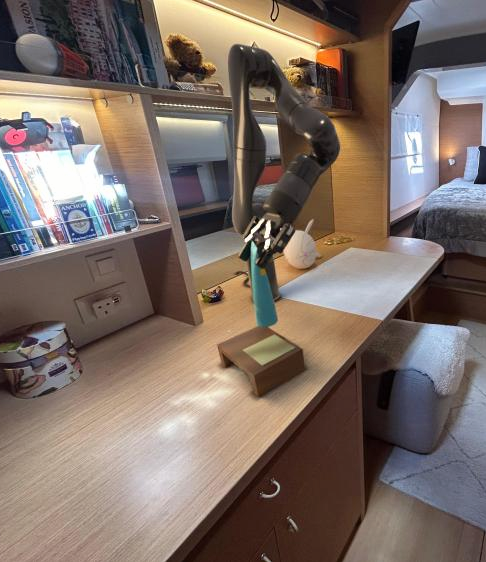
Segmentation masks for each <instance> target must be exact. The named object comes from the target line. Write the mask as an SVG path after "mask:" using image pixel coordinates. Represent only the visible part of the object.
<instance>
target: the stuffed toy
mask: <svg viewBox="0 0 486 562" xmlns="http://www.w3.org/2000/svg"><path fill="white" fill-rule="evenodd" d="M314 221H315V219H314V218H313V219H311V220H310V221H309V222H308V224H307V225H306V227H305V230H300V229H297V230H296V229H295V233H294V235H293V236H292V238H291V240H290V241H289V243H288V244H287V246H286V247H285V249H284V251H283V255H284V257H285V260H286V262H288V264H290V266H292V267H294V268H295V269H299V270H305V269H308V268H310V267H311V266H312V265H313V264H314V263H315V261H316V259H319V258H320V259H321V258H322V257H323V255H322V254H321V253H318V252H317V251H318V250H317V246H316V242H315V240H314V238H313V237H312V236H311V235H310V234H309V232H310V230H311V228H312V226H313V224H314Z"/></svg>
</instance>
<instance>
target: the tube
mask: <svg viewBox="0 0 486 562" xmlns="http://www.w3.org/2000/svg"><path fill="white" fill-rule="evenodd" d="M251 241H252V240H251ZM258 257H259V254H258V253H257V247H256V245H255V244H254V242H253V241H252V243H251V272H252V288H253V298H254V301H253V306H254V314H255V321H256V326H260V327H268V328H270V327H272V326H274V325H276V324H277V323H278V321H279V319H278V314H277V309H276V304H275V301H274V300H273V296H272V291H271V288H270V284H269V280H268V277H267V274H266V271H265V268H264V269H262V268H260V267H258V266H256V265H255V262H256V260H257V258H258ZM253 298H252V299H253Z"/></svg>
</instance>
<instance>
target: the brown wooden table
mask: <svg viewBox="0 0 486 562" xmlns="http://www.w3.org/2000/svg"><path fill="white" fill-rule="evenodd" d="M216 346H217V349H218V350H217V351H218V354H219V358H220V361H221V362H220V363H221V365H222V366H224V368H227V367H229V366H231V365H233V364H234V365H235V366H236V367H238V368H239V369H240V370H241V371H242V372H244V373H245V374H246V375H247V376H248V377H249V378H250V381H251V386H252V390H253V394H254V395H256V396H257V397H258V398H260V397H262V396H263V395H265V394H267V393H268V392H270V391H272V390H273V389H275V388H276V387H278V386H280V385H282V384H283V383H284V382H286V381H288V380H290V379H291V378H293V377H295V376H297V375H298V374H300V373H301V372H303V371H304V370H306V364H305V355H304V349H303V348H302V347H301V346H299V345H297V344H296V343H294V342H293V341H291V340H289V339H288V338H287V337H285V336H284V335H281V334H279V333H278V332H277V331H275V330H273V329H271V328H270V327H260V326H258V325H256V326H255V327H253V328H251V329H248V330H246V331H244V332H242V333H239V334H237V335H235V336H233V337H230V338H228V339H226V340H224V341H222V342H220V343H217V344H216Z"/></svg>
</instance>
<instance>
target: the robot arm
mask: <svg viewBox="0 0 486 562" xmlns="http://www.w3.org/2000/svg"><path fill="white" fill-rule="evenodd" d="M227 59H228V60H227V71H228V82H229V91H230V100H231V111H232V158H233V197H232V209H231V210H232V211H231V220H232V225H233V228H234V230H235V232H236V233H237V234H238V235H239V236H241V237H242V239H243V240H244V242H245V243H244V245H243V246H242V248H241V250H240V251H239V253H238V255H237V258H238V259H240V260H241V261H243V262H245V263H246V264H245V265H246V269H247V272H246V271H242V270H238V271H236V272H235V275H238V274H243V275H246V276H247V278H246V279H244V280H243V285H244V286H245V287H247V288H250V292H251V297H252V298H251V299H252V301H253V302H254V298H253V288H252V272H251V243H252V241H253V242H254V244H255V245H256V247H257V253H258V254H259V257H258V258H257V260H256V262H255V265H256V266H258V267H260V268H262V269H264V268H265V271H266V274H267V277H268V280H269V284H270V288H271V291H272V296H273V300H274V302H275V301H277V300H279V299H280V297H281V296H280V292H279V291H280V290H279V287H280V286H279V283H278V277H277V270H276V264H275V260H274V259H275V258H274V255H276V254H277V253H279V254H282V253H284V249H285V247H286V246H287V244H288V243H289V241H290V240H291V238H292V236H293V235H294V233H295V231H296V229H295V228H294V227H293V225H294V224H295V223H296V221H297V219H298V218H299V216H300V214H301V212H303V211H302V210H303V209H304V207H305V205H306V203H307V202H308V200H309V198H310V196H311V192H312V191H313V189H314V187H315V186H316V184H317V182H318V181H319V179H320V177H321V176H322V175H323V174H324V173H326V171H327V170H329V168H330V167H331V166H333V164H334V163H335V162H336V161H337V159H338V157H339V155H340V152H341V141H340V139H339V136H338V132H337V129H336V127H335V124H334V123H333V121H332V120H331V119H330V117H329V116H327V114H325V113H324V112H322V111H320V110H318V109H316V108H314V107H313V106H312V105H311V104H310V103H309V102H308V101H307V100H306V99H305V98H304V97H303V96H302V95H301V94H300V93H299V92H298V91H297V89H295V87H294V86H293V85H292V83H291V82H290V81H289V79H288V77H287V76H286V75H285V73H284V71H283V70H282V68H281V67H280V65H279V64H278V62H277V61H276V59H275V58H274V57H273V55H272V54H271V53H270V52H269V51H268V50H265V49H263V48H260V47H255V46H251V45H246V44H242V43H234V44H233V45H231V46H230V48H229V51H228V56H227ZM250 89H255V90H256V89H259V90H266V91H268V92H269V93H270V94H272V95H273V96H274V104H275V109H276V111H277V113H278V115H279V116H280V117H281V118H282V120H283V121H284V122H285V124H286V125H288V127H290V129H291V130H292V131H293V132H295V133H296V134H297V135H300V136H303V137H304V139H305V140H306V142H307V144H308V147H309V150H310V152H309V153H308V154H306V153H298V154H296V155H295V156H294V157H293V158H292V160H291V161H290V163H289V165H288V167H287V168H286V169H285V171H284V173H283V174H282V176H281V177H280V178H279V179H278V181H277V182H276V184H275V185H274V188H273V189H272V190H271V192H270V193H269V195H268V197H267V199H266V200H265V202H264V203H261V202H260V203H259V202H255V203H254V201H253V200H254V195H255V191H256V188H257V186H258V185H259V183H260V181H261V178H262V177H263V175H264V172H265V169H266V166H267V147H268V145H267V139H266V136H265V134H264V132H263V130H262V128H261V126H260V124H259V122H258V121H257V119H256V117H255V115H254V112H253V109H252V105H251V98H250V97H251V96H250ZM251 240H252V241H251ZM248 281H249V284H248V283H246V282H248Z"/></svg>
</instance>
